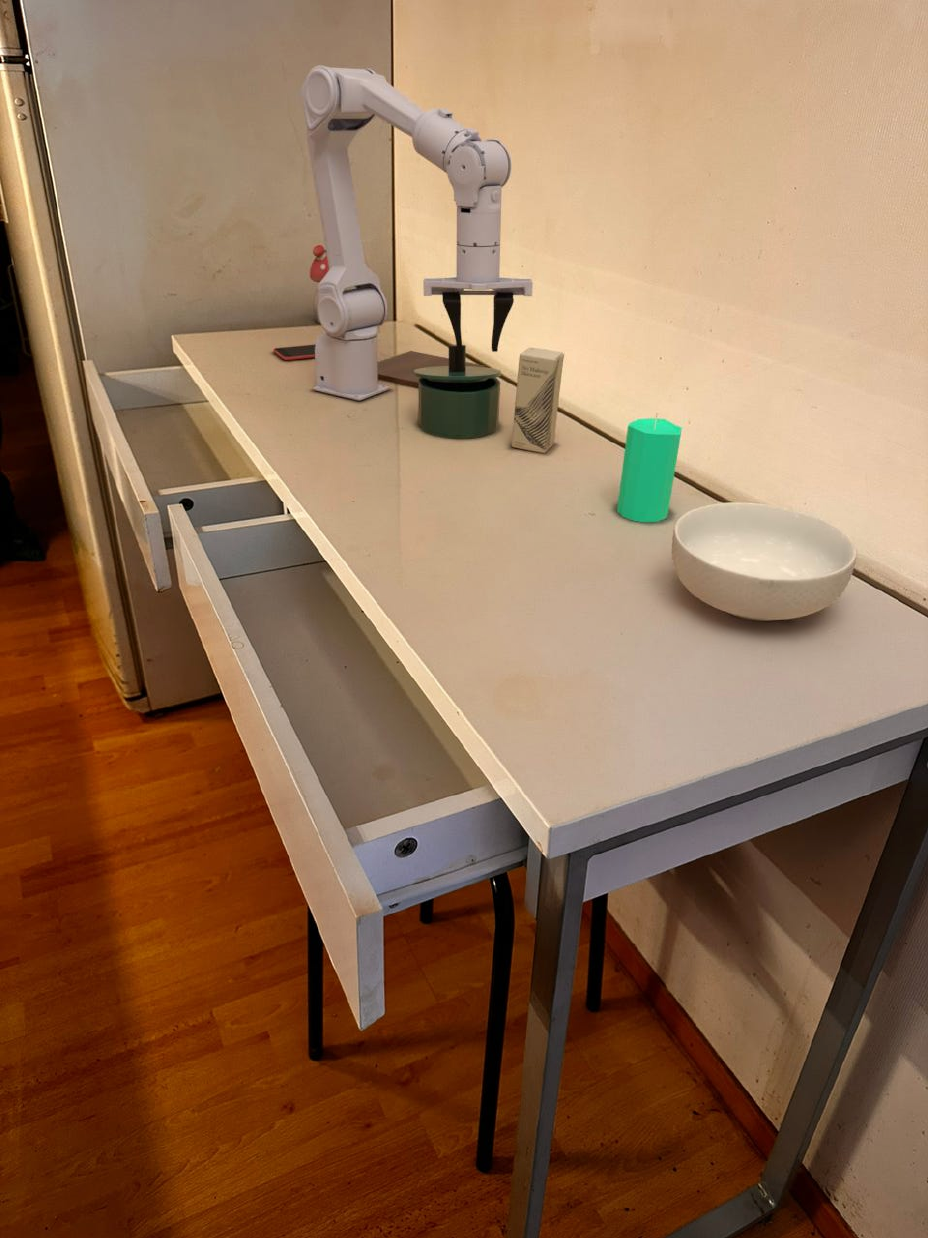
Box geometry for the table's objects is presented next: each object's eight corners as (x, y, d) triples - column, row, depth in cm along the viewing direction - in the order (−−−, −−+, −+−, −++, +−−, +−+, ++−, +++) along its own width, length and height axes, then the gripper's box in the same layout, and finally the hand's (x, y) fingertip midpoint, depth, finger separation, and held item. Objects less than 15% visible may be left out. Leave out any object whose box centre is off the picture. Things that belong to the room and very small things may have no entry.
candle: (637, 525, 102) (652, 423, 96) (606, 506, 107) (619, 407, 101) (678, 517, 105) (695, 417, 99) (647, 498, 109) (661, 401, 103)
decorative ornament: (319, 327, 179) (315, 247, 171) (304, 321, 184) (300, 242, 176) (360, 323, 184) (358, 244, 176) (345, 316, 188) (342, 239, 181)
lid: (395, 379, 126) (394, 345, 124) (446, 371, 135) (446, 339, 134) (468, 387, 119) (468, 351, 118) (517, 377, 129) (518, 344, 127)
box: (510, 448, 123) (516, 353, 116) (520, 438, 127) (527, 345, 120) (547, 454, 121) (555, 358, 115) (556, 444, 125) (565, 351, 118)
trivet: (356, 373, 152) (356, 369, 151) (410, 355, 163) (410, 350, 163) (435, 391, 145) (435, 386, 144) (486, 370, 156) (486, 365, 156)
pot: (403, 427, 129) (403, 382, 125) (446, 408, 137) (447, 365, 134) (470, 444, 124) (472, 398, 120) (511, 423, 132) (514, 379, 129)
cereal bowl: (694, 548, 98) (705, 487, 94) (853, 589, 91) (872, 525, 87) (638, 613, 85) (648, 546, 82) (818, 667, 78) (838, 596, 75)
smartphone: (358, 350, 162) (284, 357, 156) (358, 353, 163) (284, 360, 157) (343, 341, 168) (271, 347, 161) (343, 344, 168) (271, 351, 162)
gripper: (422, 247, 114) (424, 356, 121) (536, 248, 114) (531, 356, 121) (423, 241, 120) (424, 345, 127) (531, 241, 120) (527, 345, 127)
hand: (476, 350), depth 124 cm, fingers open, 4 cm apart
